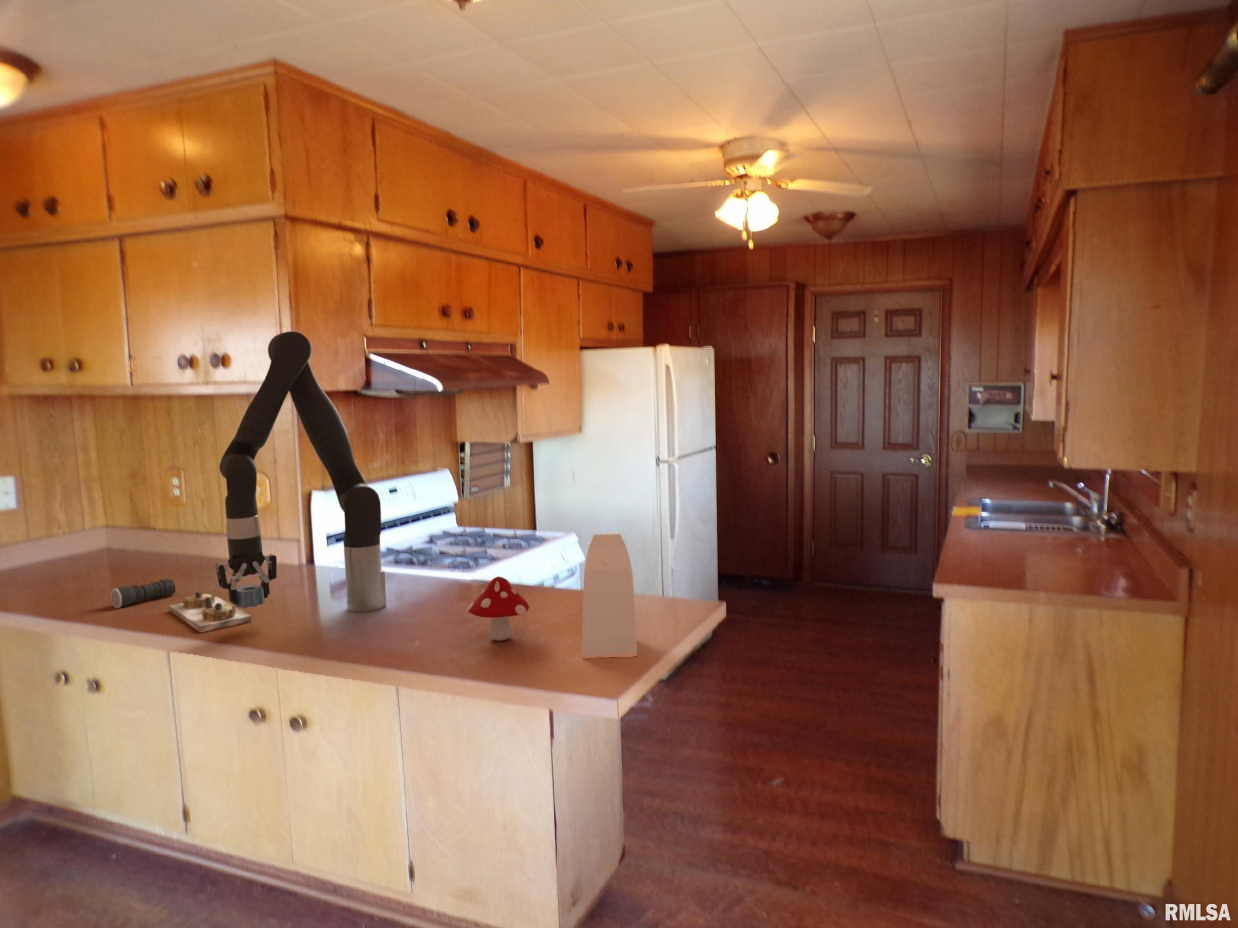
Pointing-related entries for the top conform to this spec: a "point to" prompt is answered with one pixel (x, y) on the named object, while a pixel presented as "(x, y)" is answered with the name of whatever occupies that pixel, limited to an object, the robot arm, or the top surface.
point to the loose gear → (250, 596)
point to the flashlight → (141, 592)
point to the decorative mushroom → (499, 607)
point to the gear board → (206, 624)
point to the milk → (608, 598)
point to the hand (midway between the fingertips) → (250, 600)
